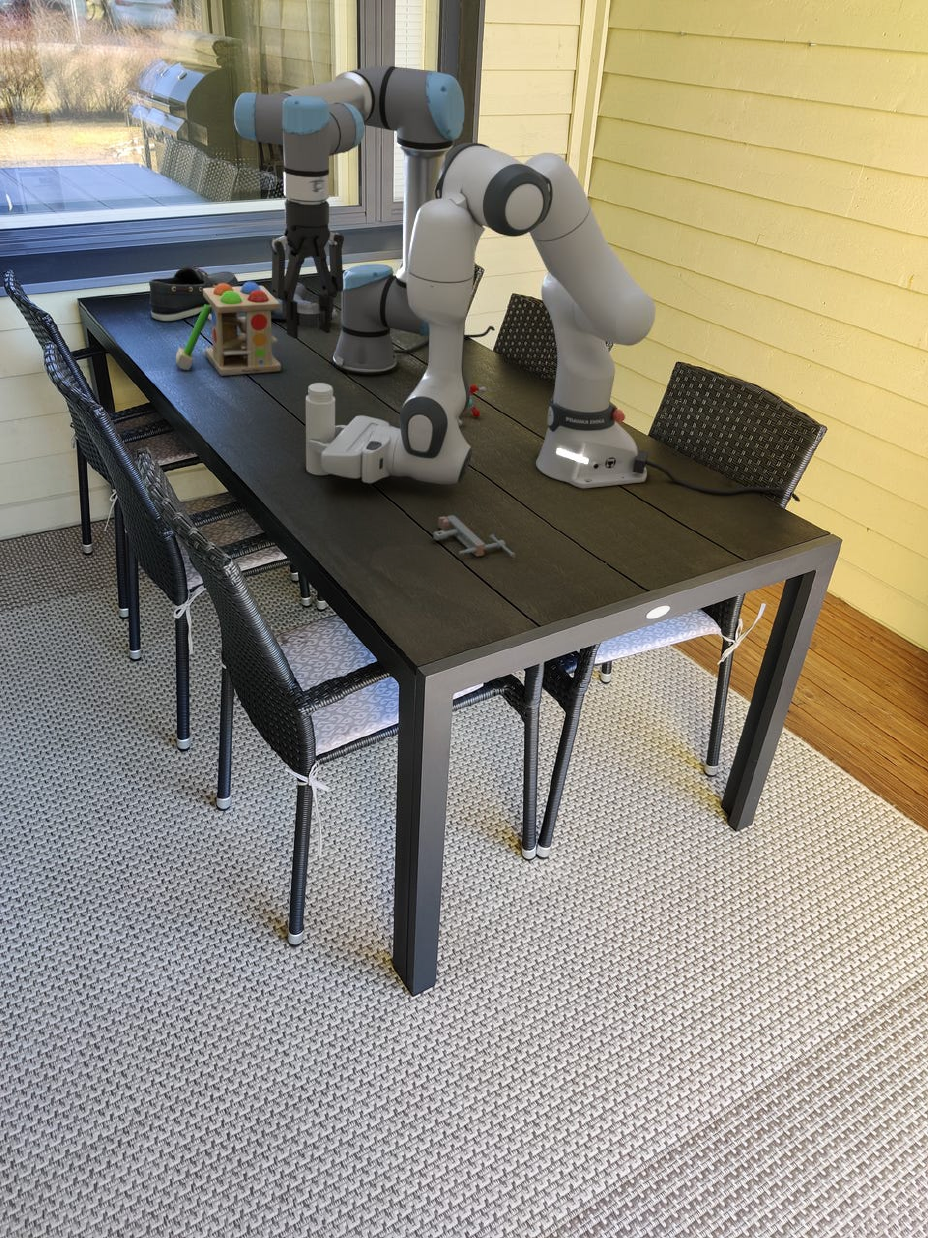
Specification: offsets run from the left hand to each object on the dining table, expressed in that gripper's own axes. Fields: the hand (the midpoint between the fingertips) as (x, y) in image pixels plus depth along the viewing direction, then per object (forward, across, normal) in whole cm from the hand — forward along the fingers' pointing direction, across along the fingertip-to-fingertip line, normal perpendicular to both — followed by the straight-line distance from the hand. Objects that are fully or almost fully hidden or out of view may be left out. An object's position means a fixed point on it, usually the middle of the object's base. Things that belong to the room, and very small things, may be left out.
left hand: (308, 333), depth 180 cm
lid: (-4, 0, 0) cm, 4 cm away
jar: (+25, -1, -6) cm, 25 cm away
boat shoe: (+26, +20, +95) cm, 101 cm away
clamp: (+25, +6, -44) cm, 51 cm away
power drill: (+26, +44, +79) cm, 94 cm away
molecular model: (+25, +38, +2) cm, 46 cm away
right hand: (+18, -2, -5) cm, 19 cm away
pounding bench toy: (+25, +7, +52) cm, 58 cm away
